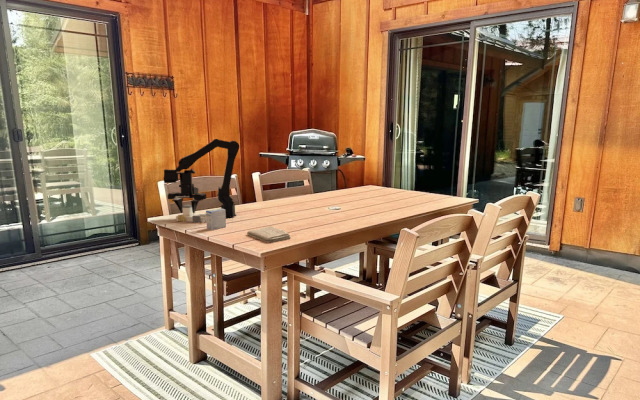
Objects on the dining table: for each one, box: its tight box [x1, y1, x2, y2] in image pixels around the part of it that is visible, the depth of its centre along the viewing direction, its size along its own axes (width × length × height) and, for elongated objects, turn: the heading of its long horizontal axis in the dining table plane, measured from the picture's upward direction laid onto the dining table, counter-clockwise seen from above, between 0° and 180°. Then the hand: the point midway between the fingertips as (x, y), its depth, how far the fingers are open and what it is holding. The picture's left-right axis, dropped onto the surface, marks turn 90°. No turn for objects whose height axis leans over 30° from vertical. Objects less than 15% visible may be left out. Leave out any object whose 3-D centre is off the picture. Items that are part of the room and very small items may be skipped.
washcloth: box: [246, 226, 291, 244], centre depth 179 cm, size 12×18×3 cm, turn 41°
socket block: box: [175, 212, 206, 223], centre depth 211 cm, size 15×12×3 cm
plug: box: [182, 204, 193, 216], centre depth 213 cm, size 4×4×7 cm
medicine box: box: [205, 207, 227, 231], centre depth 193 cm, size 8×4×9 cm, turn 141°
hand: (187, 212), depth 213 cm, fingers open, 6 cm apart
